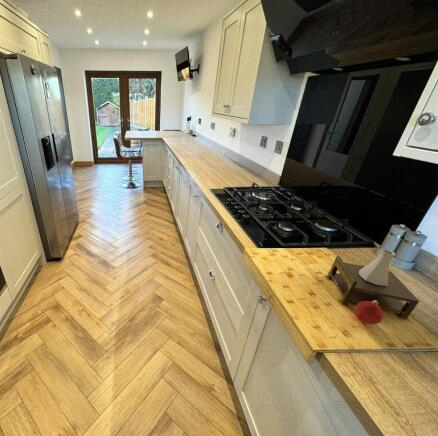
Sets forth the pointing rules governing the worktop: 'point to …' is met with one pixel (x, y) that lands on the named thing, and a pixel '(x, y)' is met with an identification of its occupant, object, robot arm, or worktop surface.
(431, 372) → the worktop surface
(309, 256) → the worktop surface
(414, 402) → the worktop surface
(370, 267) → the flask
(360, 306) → the onion
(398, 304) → the wooden step stool
